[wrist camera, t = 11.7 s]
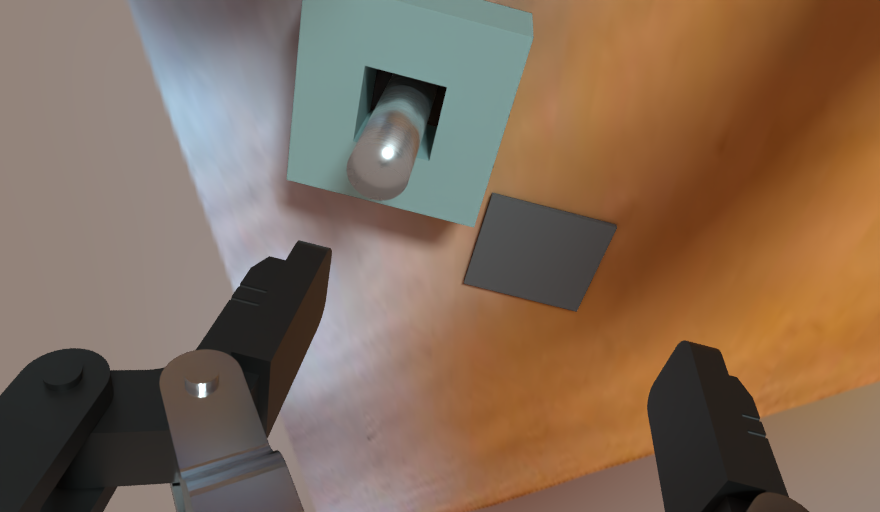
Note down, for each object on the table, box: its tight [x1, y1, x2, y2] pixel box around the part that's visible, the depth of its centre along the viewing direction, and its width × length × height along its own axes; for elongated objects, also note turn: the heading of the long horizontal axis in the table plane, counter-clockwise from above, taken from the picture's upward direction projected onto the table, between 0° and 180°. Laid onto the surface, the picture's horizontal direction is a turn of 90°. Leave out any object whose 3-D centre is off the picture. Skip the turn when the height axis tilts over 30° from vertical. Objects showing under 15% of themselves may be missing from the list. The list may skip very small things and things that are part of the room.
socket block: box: [287, 0, 533, 227], centre depth 36 cm, size 12×12×5 cm
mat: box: [464, 193, 617, 312], centre depth 45 cm, size 9×8×1 cm
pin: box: [347, 73, 437, 201], centre depth 34 cm, size 3×3×12 cm
